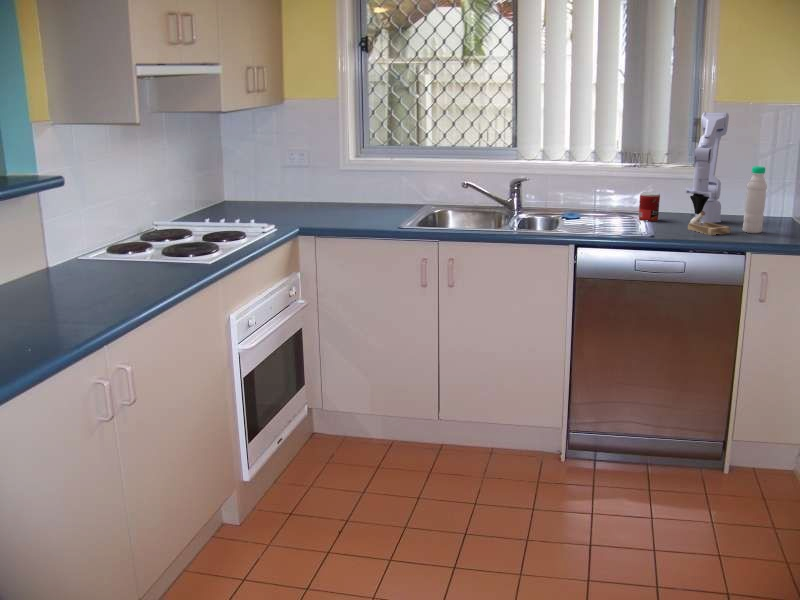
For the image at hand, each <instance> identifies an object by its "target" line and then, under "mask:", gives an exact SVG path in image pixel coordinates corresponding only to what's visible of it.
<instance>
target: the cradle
mask: <svg viewBox="0 0 800 600" xmlns="http://www.w3.org/2000/svg"><path fill="white" fill-rule="evenodd" d="M690 230H692V231H691V232H694V231H696V232H695V233H698V232H700V233H699V234H703V233H704V234H703V235H707V234H708V236H717V235H716V234H720V235H726V234H725V233H729V234H730V230H731V227H730V226H727V225H722V224H719V223H709V222H703V223H702V224H700V225H697V224H692V223H690V222H689V223H688V224H687V231H690Z"/></svg>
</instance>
